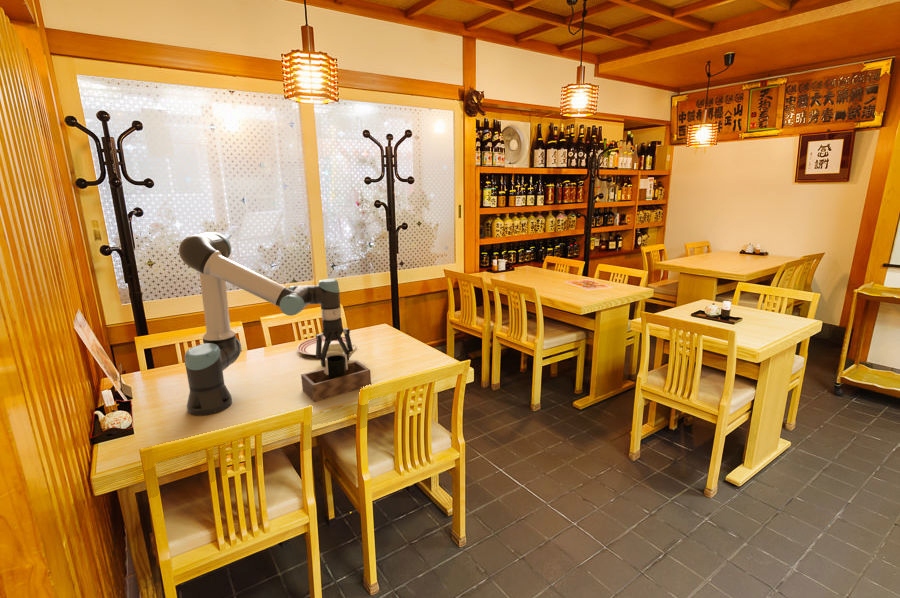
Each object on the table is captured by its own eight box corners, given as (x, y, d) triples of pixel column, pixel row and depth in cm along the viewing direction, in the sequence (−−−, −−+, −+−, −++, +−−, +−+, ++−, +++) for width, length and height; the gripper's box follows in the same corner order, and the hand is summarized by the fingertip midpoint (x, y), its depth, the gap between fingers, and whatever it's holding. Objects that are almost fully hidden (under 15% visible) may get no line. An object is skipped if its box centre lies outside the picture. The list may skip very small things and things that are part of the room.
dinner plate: (345, 359, 217) (345, 352, 216) (289, 359, 218) (288, 353, 217) (357, 341, 244) (357, 335, 243) (307, 341, 244) (307, 335, 244)
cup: (341, 390, 181) (339, 362, 178) (324, 388, 182) (322, 361, 179) (349, 382, 188) (347, 355, 185) (333, 381, 189) (330, 354, 187)
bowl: (324, 378, 206) (308, 354, 210) (356, 364, 218) (341, 341, 223) (332, 362, 197) (315, 337, 201) (365, 348, 209) (348, 325, 214)
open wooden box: (314, 402, 173) (312, 385, 171) (302, 390, 183) (301, 374, 182) (371, 385, 187) (370, 369, 185) (357, 375, 197) (356, 360, 196)
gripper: (309, 324, 169) (315, 380, 175) (359, 315, 181) (363, 367, 186) (303, 320, 175) (308, 374, 180) (351, 311, 187) (355, 362, 192)
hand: (336, 371), depth 183 cm, fingers closed on cup, 8 cm apart
